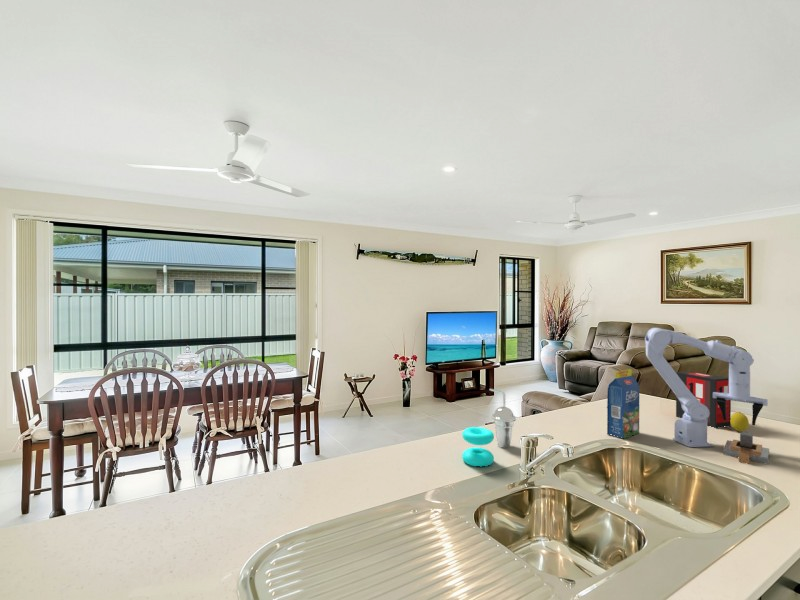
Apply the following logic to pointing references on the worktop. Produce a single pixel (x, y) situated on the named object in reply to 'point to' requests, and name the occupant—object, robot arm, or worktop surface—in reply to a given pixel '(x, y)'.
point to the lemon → (739, 421)
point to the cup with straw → (503, 423)
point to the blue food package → (623, 405)
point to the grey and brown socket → (746, 452)
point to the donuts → (477, 454)
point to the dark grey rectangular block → (746, 440)
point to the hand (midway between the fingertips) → (739, 422)
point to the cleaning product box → (706, 395)
